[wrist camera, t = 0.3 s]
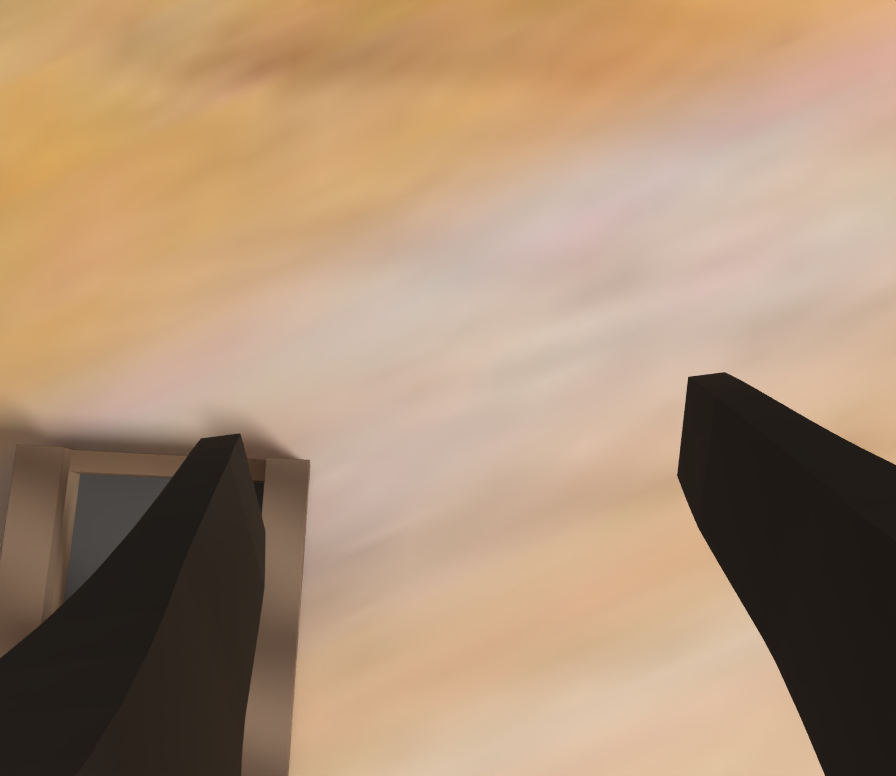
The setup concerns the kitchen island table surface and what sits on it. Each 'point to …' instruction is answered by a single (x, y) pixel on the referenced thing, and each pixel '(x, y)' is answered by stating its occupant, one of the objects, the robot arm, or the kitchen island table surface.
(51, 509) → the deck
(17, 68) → the kitchen island table surface
